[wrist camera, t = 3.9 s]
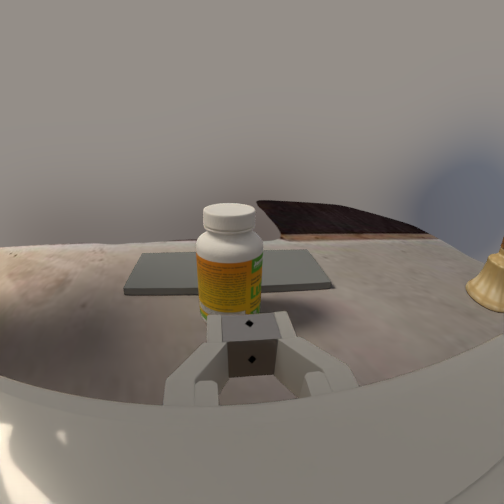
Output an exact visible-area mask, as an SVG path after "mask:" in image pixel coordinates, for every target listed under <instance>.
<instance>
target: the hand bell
mask: <svg viewBox="0 0 504 504" xmlns="http://www.w3.org/2000/svg"><path fill="white" fill-rule="evenodd" d="M502 242H503V243H502V244H501V248H500V251H499V253H497V254H491V255H489V257H488V259H487V262H486V264H485V266H484V268H483V269H482V271H481V272H480V273H479V275H478V276H477V277H475V278H474V279H471V280H470V281H469V282H468V283H467V284H466V290H467V292H468V294H469V295H470V296H471V298H473V299H474V300H475V301H476V302H477V303H479V304H480V305H482V306H484V307H485V308H487V309H489V310H492V311H495V312H501V313H504V238H503V241H502Z"/></svg>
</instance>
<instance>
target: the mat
mask: <svg viewBox="0 0 504 504" xmlns="http://www.w3.org/2000/svg"><path fill="white" fill-rule="evenodd" d="M330 286H331V281H330V280H329V278H328V277H327V276H326V274H325V273H324V271H323V270H322V269H321V267H320V266H319V265H318V263H317V262H316V261H315V259H314V258H313V257H312V256H311V254H310V253H309V252H308V250H307V249H306V250H263V263H262V283H261V292H279V291H297V290H313V289H328V288H330ZM123 289H124V294H125V295H192V294H199V290H198V276H197V260H196V252H175V253H142V255H141V257H140V258H139V260H138V262H137V264H136V265H135V267H134V269H133V271H132V273H131V275H130V276H129V278H128V280H127V282H126V284H125V286H124V288H123Z"/></svg>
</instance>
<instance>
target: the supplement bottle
mask: <svg viewBox="0 0 504 504" xmlns="http://www.w3.org/2000/svg"><path fill="white" fill-rule="evenodd" d="M203 224H204V228H205V229H206V230H207V231H206V232H204V233H203V234H202V235H200V237H199V238H198V240H197V242H196V260H197V276H198V290H199V304H200V313H201V316H202V318H203V320H204V321H205V322H206V323H207V316H208V315H222V314H259V313H260V303H261V283H262V263H263V242H262V239H261V238H260V236H259V235H258V234H256V233H255V232H253V231H252V230H253V229H254V228H255V209H254V208H253V207H251V206H248V205H244V204H236V203H221V204H214V205H210V206H207V207H206V208H204V211H203ZM221 324H222V323H221Z"/></svg>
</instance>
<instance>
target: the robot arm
mask: <svg viewBox="0 0 504 504" xmlns="http://www.w3.org/2000/svg"><path fill="white" fill-rule="evenodd" d="M221 323H222V324H221ZM260 375H274V376H275V377H276V378H277V379H278V380H279V381H280V382H281V383H282V384H283V385H284V386H286V387H287V388H288V389H289V390H290V391H291V392H292V393H293V394H294V395H295V396H296V397H297V398H298V399H291V400H283V401H274V402H265V403H254V404H241V405H222V406H219V396H218V395H219V394H220V392H221V390H222V389H223V387H224V386H225V384H226V383H227V381H228V380H229V378H234V377H246V376H260ZM0 504H504V334H501V335H499V336H497V337H495V338H493V339H491V340H489V341H487V342H485V343H483V344H481V345H479V346H477V347H474V348H472V349H470V350H468V351H465V352H463V353H461V354H459V355H456V356H454V357H451V358H449V359H446V360H444V361H441V362H438V363H436V364H433V365H430V366H428V367H425V368H422V369H419V370H416V371H413V372H410V373H407V374H404V375H401V376H397V377H394V378H391V379H387V380H384V381H380V382H376V383H373V384H369V385H365V386H361V387H359V385H358V383H357V381H356V379H355V377H354V375H353V373H352V371H351V370H350V368H349V366H348V365H347V364H345V363H344V362H342V361H340V360H338V359H337V358H335V357H333V356H332V355H330V354H328V353H327V352H325V351H323V350H322V349H320V348H318V347H317V346H315V345H313V344H312V343H310V342H309V341H307V340H305V339H304V338H302V337H297V335H296V333H295V330H294V328H293V325H292V323H291V321H290V318H289V316H288V313H287V312H286V311H280V312H273V313H259V314H222V315H208V316H207V343H202V344H201V345H200V346H199V347H198V348H197V349H196V350H195V351H194V352H193V353H192V354H191V355H190V356H189V357H188V358H187V359H186V360H185V361H184V362H183V363H182V364H181V365H180V366H179V367H178V368H177V369H176V370H175V371H174V372H173V373H172V374H171V375H170V376H169V377H168V378H167V379H166V383H165V390H164V398H163V405H149V404H136V403H126V402H117V401H109V400H101V399H95V398H88V397H83V396H77V395H72V394H67V393H62V392H57V391H53V390H49V389H45V388H41V387H37V386H33V385H29V384H26V383H22V382H19V381H16V380H13V379H9V378H6V377H3V376H1V375H0Z"/></svg>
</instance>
